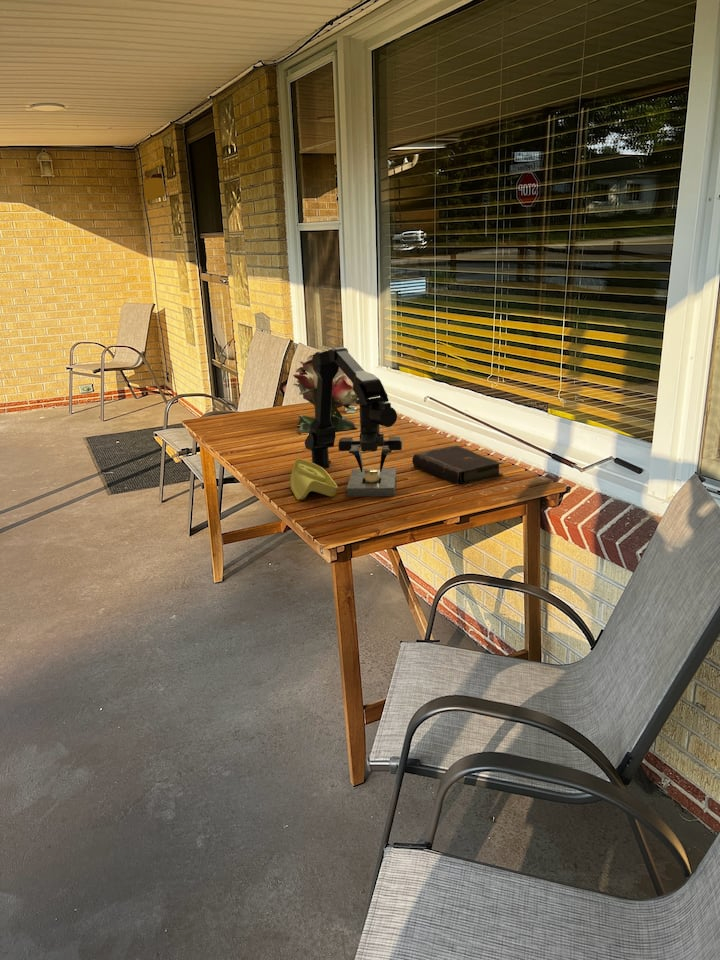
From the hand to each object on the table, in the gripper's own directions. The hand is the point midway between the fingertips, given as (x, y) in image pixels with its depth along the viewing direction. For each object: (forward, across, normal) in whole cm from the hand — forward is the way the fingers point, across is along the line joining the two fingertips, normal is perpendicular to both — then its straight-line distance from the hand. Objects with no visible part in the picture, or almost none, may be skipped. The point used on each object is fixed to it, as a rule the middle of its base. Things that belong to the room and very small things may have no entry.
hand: (371, 471), depth 219 cm
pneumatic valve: (+6, -16, +108) cm, 109 cm away
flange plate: (+6, 0, +3) cm, 6 cm away
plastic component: (+6, -18, 0) cm, 19 cm away
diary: (+6, +27, +17) cm, 32 cm away
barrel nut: (+6, 0, 0) cm, 6 cm away
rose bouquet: (+6, -24, +84) cm, 87 cm away
